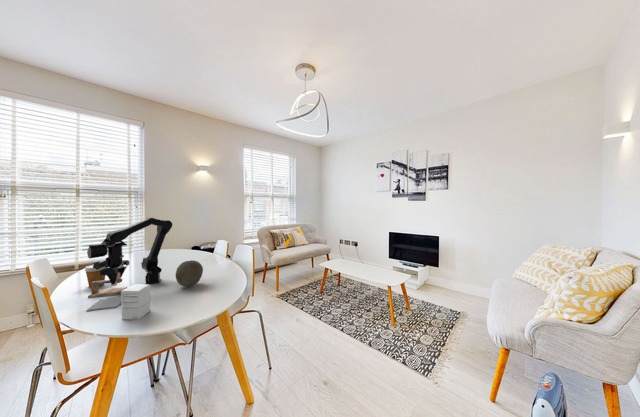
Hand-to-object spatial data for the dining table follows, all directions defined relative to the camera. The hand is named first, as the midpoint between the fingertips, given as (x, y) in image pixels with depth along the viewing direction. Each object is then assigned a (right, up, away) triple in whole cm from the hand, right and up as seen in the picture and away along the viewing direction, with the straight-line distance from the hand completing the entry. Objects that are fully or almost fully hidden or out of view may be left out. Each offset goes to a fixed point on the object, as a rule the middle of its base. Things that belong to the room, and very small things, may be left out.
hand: (115, 282), depth 122 cm
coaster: (+9, -6, -13) cm, 17 cm away
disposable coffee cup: (-19, -5, +9) cm, 22 cm away
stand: (-3, -5, -1) cm, 6 cm away
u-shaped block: (0, -1, 0) cm, 1 cm away
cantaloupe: (+35, -6, +11) cm, 37 cm away
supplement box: (+31, -7, -23) cm, 39 cm away
